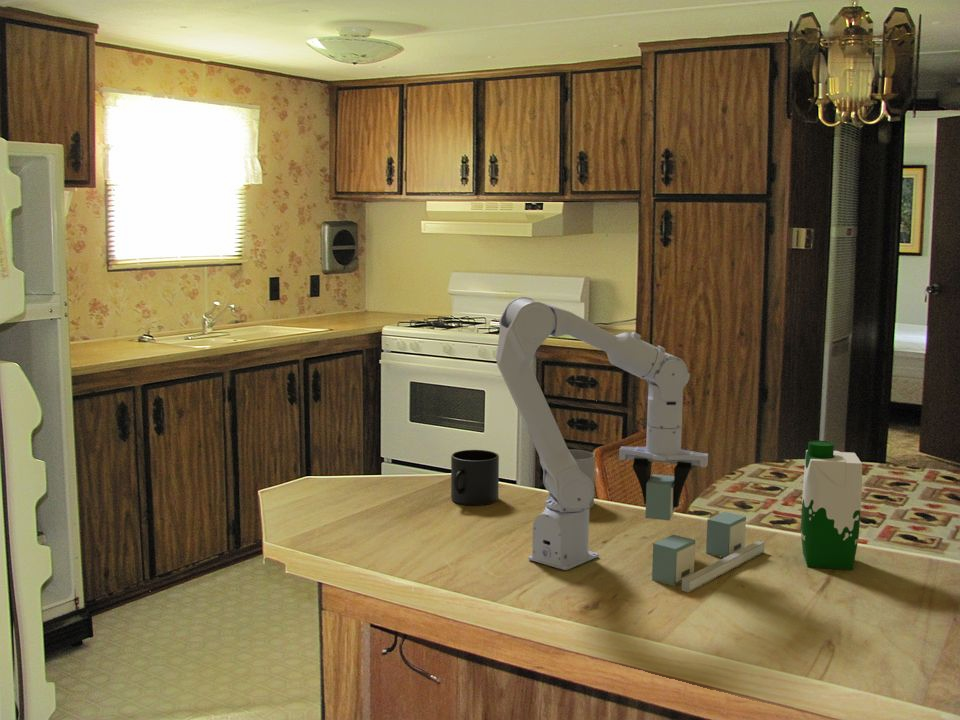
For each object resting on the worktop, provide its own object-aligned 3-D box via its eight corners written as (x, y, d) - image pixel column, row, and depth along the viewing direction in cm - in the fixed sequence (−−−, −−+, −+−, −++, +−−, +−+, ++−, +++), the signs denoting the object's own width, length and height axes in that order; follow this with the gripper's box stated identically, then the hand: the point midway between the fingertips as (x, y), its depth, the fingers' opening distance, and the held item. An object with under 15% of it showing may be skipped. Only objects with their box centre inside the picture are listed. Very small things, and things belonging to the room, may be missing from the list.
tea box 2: (675, 586, 159) (676, 549, 158) (651, 580, 162) (653, 543, 161) (695, 576, 164) (696, 540, 163) (672, 570, 167) (673, 534, 166)
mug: (434, 504, 202) (434, 459, 201) (468, 490, 212) (468, 447, 211) (474, 512, 197) (475, 466, 196) (507, 497, 207) (507, 453, 206)
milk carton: (796, 551, 176) (803, 436, 173) (852, 555, 174) (859, 439, 171) (801, 568, 168) (808, 448, 165) (860, 572, 166) (868, 451, 163)
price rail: (689, 592, 157) (689, 581, 156) (681, 590, 158) (681, 579, 157) (764, 552, 175) (765, 542, 175) (757, 550, 176) (757, 540, 176)
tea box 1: (670, 520, 170) (672, 485, 169) (645, 517, 172) (646, 483, 171) (676, 510, 176) (677, 476, 175) (651, 507, 177) (652, 474, 176)
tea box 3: (728, 559, 172) (730, 524, 171) (706, 553, 175) (707, 519, 174) (745, 550, 176) (747, 516, 176) (723, 545, 179) (724, 511, 178)
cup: (595, 510, 199) (596, 460, 197) (552, 510, 199) (553, 459, 197) (591, 498, 207) (592, 449, 206) (550, 497, 207) (551, 449, 206)
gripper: (616, 426, 170) (614, 506, 172) (705, 433, 166) (702, 515, 168) (624, 418, 177) (622, 495, 179) (710, 425, 172) (707, 503, 174)
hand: (661, 504), depth 174 cm, fingers closed on tea box 1, 4 cm apart
